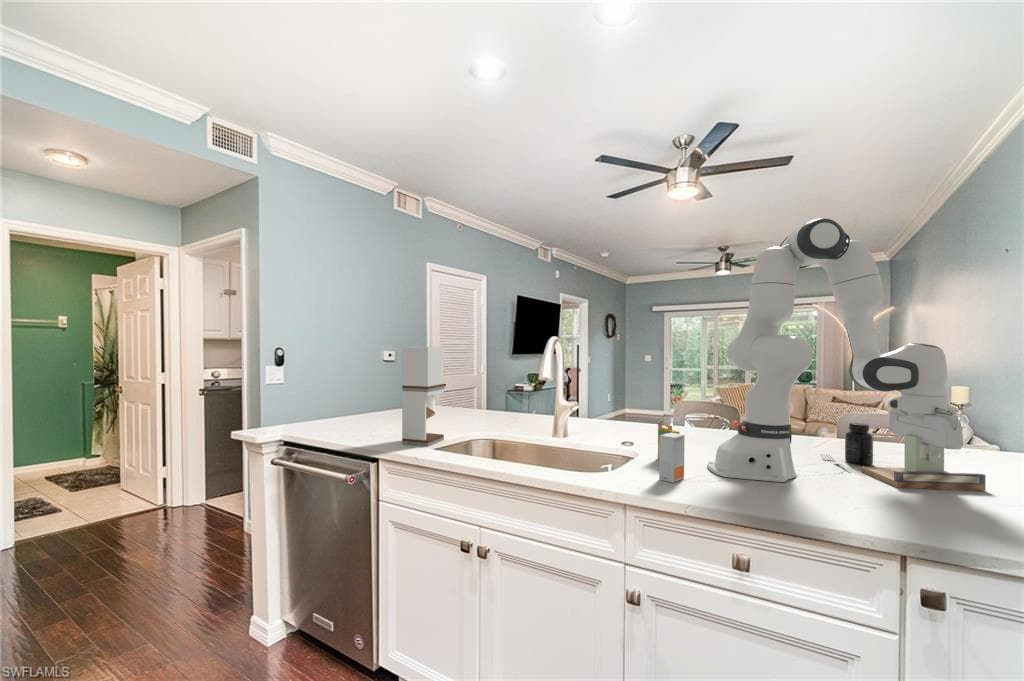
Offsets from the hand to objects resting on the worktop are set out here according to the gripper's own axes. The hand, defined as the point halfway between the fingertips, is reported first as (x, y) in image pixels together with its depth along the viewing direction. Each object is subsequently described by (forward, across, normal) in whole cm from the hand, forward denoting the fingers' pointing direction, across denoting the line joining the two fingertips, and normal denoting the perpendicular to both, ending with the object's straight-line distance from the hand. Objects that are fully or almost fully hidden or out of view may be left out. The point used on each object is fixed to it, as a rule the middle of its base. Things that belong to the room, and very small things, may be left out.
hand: (923, 458), depth 118 cm
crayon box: (+7, +15, +61) cm, 63 cm away
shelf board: (+7, +3, -1) cm, 7 cm away
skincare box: (+7, -4, +64) cm, 64 cm away
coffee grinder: (+7, +31, +145) cm, 148 cm away
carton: (+4, 0, 0) cm, 4 cm away
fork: (+7, +13, +12) cm, 19 cm away
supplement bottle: (+7, +20, +4) cm, 22 cm away
